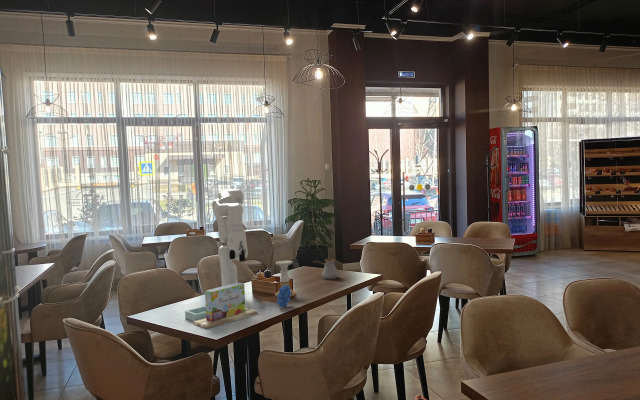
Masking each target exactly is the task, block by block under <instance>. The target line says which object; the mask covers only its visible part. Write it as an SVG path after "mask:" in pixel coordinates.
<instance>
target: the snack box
mask: <svg viewBox="0 0 640 400" xmlns="http://www.w3.org/2000/svg"><path fill="white" fill-rule="evenodd" d="M245 289H246V288H245V283H242V282H238V283H234V284H230V285H226V286H222V285H221V286H218V287H214V288H210V289H207V290H204V300H205V301H204V303H205V306H206V320H208V321H211V322H214V321H217V320H220V319H223V318H226V317H229V316H233V315H236V314H239V313H242V312H245V308H246V294H245V293H246V291H245Z"/></svg>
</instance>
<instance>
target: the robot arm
mask: <svg viewBox="0 0 640 400" xmlns="http://www.w3.org/2000/svg"><path fill="white" fill-rule="evenodd" d="M243 204H244V192H243V191H242V190H241V189H239V188H233V189H223V190H221V191H220V192H219V193H218V196H217V199H213V201H212V203H211V208H212V212H213V215H214V218H215V219H216V222H217V229H218V238H219V241H220V242H221V243H222V244H223V245H221V246H219V248H218V250H217V253H218V254H217V255H218V258H219V264H220V276H221V278H220V279H221V287H222V286H226V285H230V284H234V283H239V281H238V269H237V268H238V267H237V265H236V264H235V263H234V262H233V261H235V260H238V261H239V262H245V261H246V258H247V257H248V255H249V254H248V252H249V251H248V244H247V235H246V230H245V228H244V227H243V226H244V225H243V214H244V206H243Z"/></svg>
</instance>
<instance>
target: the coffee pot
mask: <svg viewBox="0 0 640 400" xmlns="http://www.w3.org/2000/svg"><path fill="white" fill-rule="evenodd" d="M324 261H325V263H324V262H322V261H320V260H316V259H315V260H313V262H314V263H318V264H321V265H324V268H323V270H322V273H321V276H322V277H323V278H324V279H325V280H334V279H337V277H338V276H339V272H338V269H337V267H336V266H335V263H334V261H335V259H333V258H326V259H324Z"/></svg>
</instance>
